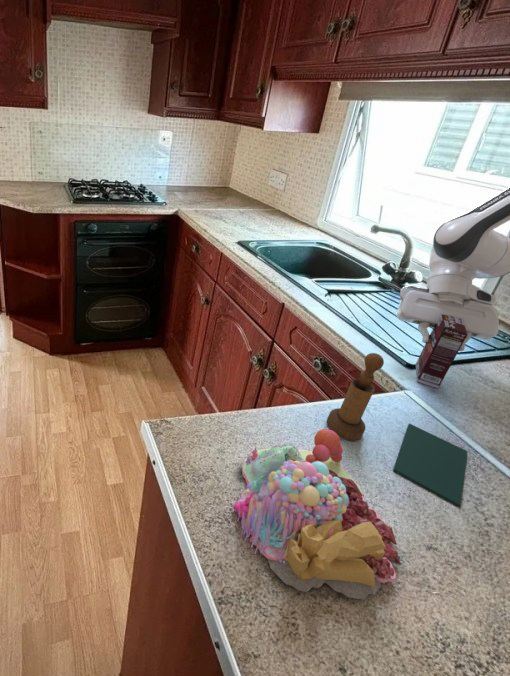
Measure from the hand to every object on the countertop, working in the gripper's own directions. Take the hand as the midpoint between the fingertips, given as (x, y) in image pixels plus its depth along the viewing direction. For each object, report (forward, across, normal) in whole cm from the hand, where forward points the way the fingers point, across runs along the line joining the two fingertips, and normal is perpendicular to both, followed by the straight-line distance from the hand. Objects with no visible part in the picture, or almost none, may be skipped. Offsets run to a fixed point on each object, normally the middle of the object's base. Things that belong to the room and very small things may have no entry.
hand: (443, 346), depth 95 cm
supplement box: (+6, 0, +7) cm, 10 cm away
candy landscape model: (+43, -30, -30) cm, 60 cm away
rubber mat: (+28, -7, -15) cm, 33 cm away
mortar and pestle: (+27, -22, -13) cm, 37 cm away
